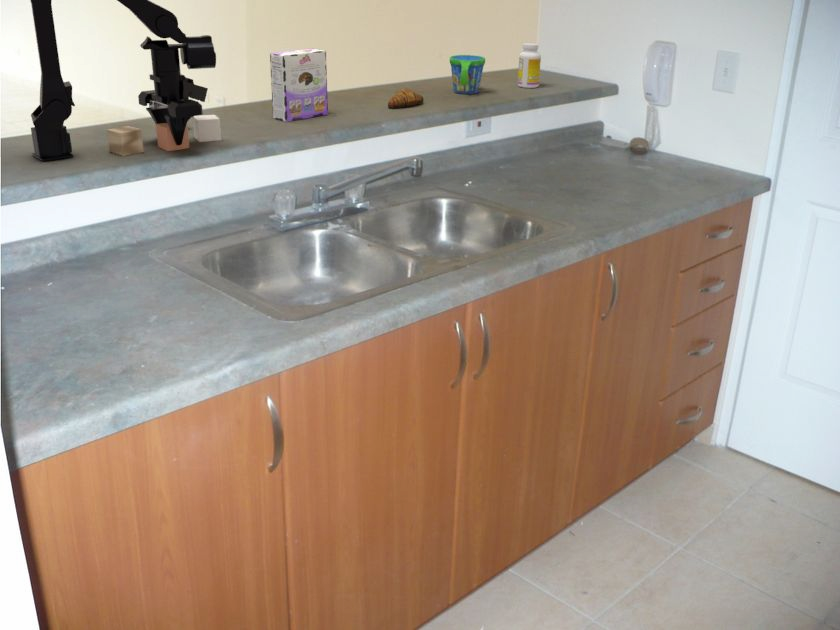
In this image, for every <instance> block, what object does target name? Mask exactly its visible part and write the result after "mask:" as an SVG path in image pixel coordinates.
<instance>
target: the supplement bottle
mask: <svg viewBox="0 0 840 630" xmlns="http://www.w3.org/2000/svg"><path fill="white" fill-rule="evenodd" d="M522 48H523V51H522V52H520V53H519V56H518V71H517V72H518V73H517V85H518V88H524V89H535V88H538V87H539V85H540V76H541V75H540V74H541V73H540V72H541V61H542V60H541V57H542V55H541V53H540V52H539V51H538V49H539V44H538V43H530V42H529V43H528V42H524V43H523V44H522Z"/></svg>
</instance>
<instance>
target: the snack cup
mask: <svg viewBox="0 0 840 630" xmlns="http://www.w3.org/2000/svg"><path fill="white" fill-rule="evenodd" d="M449 63H450V67H451V70H450V71H451V79H452V87H453V91H454V93H457V94H460V95H475V94H477V93H478V92H479V90H480V86H481V81H482V77H483V76H482V74H483V73H484V72H483V70H484V66H485V64H486V58H485V57H484V56H480V55H471V54H457V55H451V56H450V57H449Z"/></svg>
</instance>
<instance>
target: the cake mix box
mask: <svg viewBox="0 0 840 630" xmlns="http://www.w3.org/2000/svg"><path fill="white" fill-rule="evenodd" d="M269 59H270V60H269V62H270V63H269V64H270V81H271V82H270V83H271V84H270V85H271V87H270V88H271V105H272V106H271V108H272V119H275V120H278V121H281V122H284V123H288V122H293V121H300V120H304V119H310V118H315V117H316V118H317V117H322V116H327V115H329V105H328V104H329V103H328V101H329V100H328V76H327V74H328V72H327V70H328V69H327V51H326V49H325V50H324V49H320V48H319V49H317V48H313V47H312V48H305V49H296V50H287V51H285V50H284V51H279V52H278V51H277V52H270V53H269Z"/></svg>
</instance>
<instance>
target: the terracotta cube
mask: <svg viewBox="0 0 840 630" xmlns="http://www.w3.org/2000/svg"><path fill="white" fill-rule="evenodd" d="M188 125H189V124H188ZM188 125H186V128H185V132H184V136H183V141H182V144H181V145H176V143H175V140H174V138H173V136H172V133H171V131H170V128H169V126H168V123H161V124H156V123H155V129H156V137H157V138H156V139H157V147H158V148H161V150H162V149H163V150H165V151H167V152H172V151H178V150H185V149H190V138H189V127H188Z"/></svg>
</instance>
